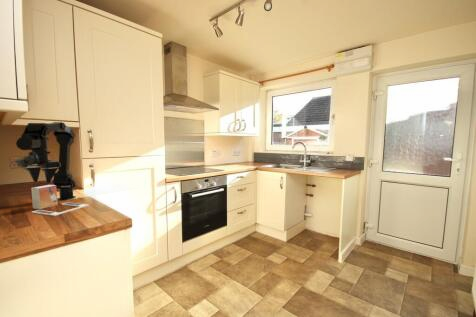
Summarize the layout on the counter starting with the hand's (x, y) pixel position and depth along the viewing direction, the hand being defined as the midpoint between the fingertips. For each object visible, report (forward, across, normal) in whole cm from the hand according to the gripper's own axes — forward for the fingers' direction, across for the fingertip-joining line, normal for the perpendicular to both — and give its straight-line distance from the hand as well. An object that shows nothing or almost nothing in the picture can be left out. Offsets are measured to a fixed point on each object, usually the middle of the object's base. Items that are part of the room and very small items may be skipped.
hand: (41, 182), depth 105 cm
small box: (+14, -5, +4) cm, 15 cm away
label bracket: (+14, +5, +4) cm, 15 cm away
